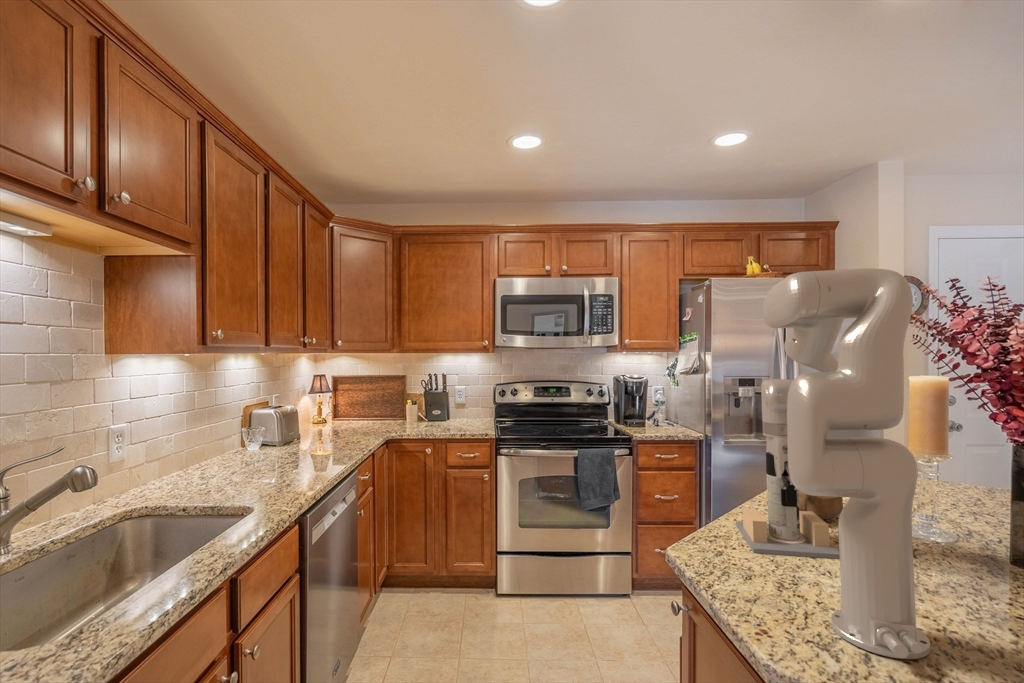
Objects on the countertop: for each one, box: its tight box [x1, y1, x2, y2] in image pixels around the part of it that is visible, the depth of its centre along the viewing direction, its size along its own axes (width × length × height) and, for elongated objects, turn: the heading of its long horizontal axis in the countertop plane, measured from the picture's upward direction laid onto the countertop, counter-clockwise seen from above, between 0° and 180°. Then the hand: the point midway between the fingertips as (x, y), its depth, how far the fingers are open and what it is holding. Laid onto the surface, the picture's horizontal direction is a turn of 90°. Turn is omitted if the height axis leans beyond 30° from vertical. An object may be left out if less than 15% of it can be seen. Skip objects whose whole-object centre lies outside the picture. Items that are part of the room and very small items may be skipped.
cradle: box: [735, 507, 840, 560], centre depth 116 cm, size 18×18×6 cm
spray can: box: [765, 452, 800, 541], centre depth 116 cm, size 7×7×20 cm
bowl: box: [798, 490, 844, 521], centre depth 131 cm, size 18×14×10 cm
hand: (782, 500), depth 116 cm, fingers open, 9 cm apart
